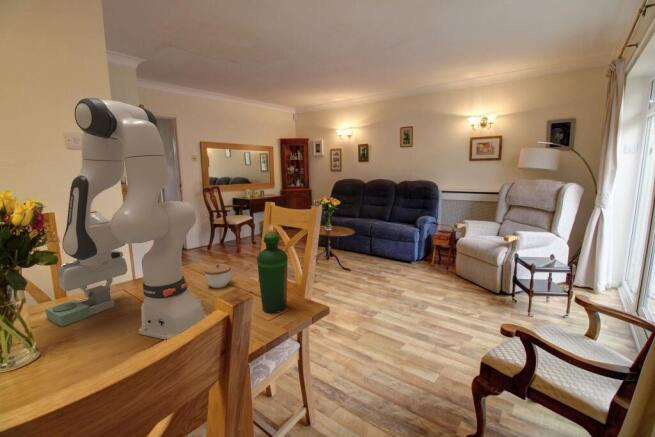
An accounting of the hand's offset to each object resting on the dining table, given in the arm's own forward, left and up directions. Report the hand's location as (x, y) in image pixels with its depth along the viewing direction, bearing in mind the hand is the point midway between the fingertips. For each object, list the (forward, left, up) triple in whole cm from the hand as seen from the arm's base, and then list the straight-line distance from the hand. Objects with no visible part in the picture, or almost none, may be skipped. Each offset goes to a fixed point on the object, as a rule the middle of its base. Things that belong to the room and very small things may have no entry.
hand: (98, 293), depth 114 cm
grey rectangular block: (-1, 0, -3) cm, 3 cm away
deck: (0, +6, -5) cm, 7 cm away
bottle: (-57, -29, -5) cm, 65 cm away
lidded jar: (-23, -34, -5) cm, 42 cm away
